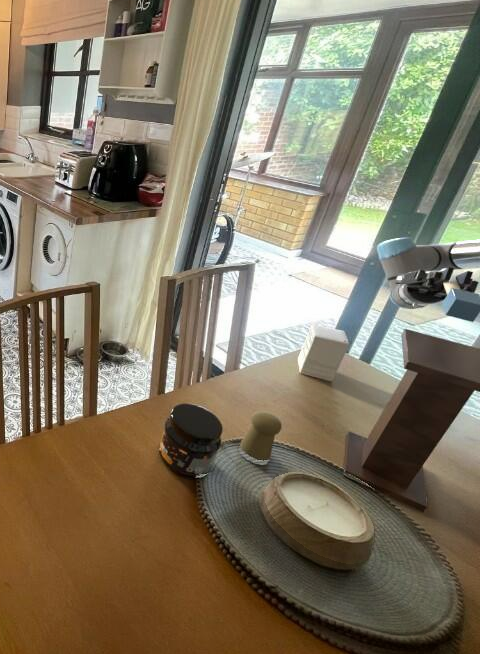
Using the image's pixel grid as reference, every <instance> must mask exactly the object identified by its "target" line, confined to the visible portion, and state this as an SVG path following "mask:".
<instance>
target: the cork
mask: <svg viewBox="0 0 480 654" xmlns="http://www.w3.org/2000/svg"><path fill="white" fill-rule="evenodd" d="M250 421H251V426H250V427H249V428H248V430H247V432H246V433H245V434H244V436H243V438H242V439H241V440H240V442H241V443H240V442H239V444H240V446H241V448H242V450H243V451H244V452H245V453H246V454H248V455H249V456H251V457H253V458H255V459H257V460H263V461H264V460H268V459H270V460H271V457H270V456H272V451H273V447H274V442H275V438H276V437H275V436H276V435H278V434H279V433H280V432H281V430H282V421H281V420H280V419H279V417H278V416H276V415H274V414H273V413H271V412H269V411H266V410H257V411H256V412H254V413H253V414H252V416H251V419H250Z"/></svg>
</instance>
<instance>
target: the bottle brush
mask: <svg viewBox="0 0 480 654" xmlns="http://www.w3.org/2000/svg"><path fill="white" fill-rule="evenodd" d="M443 270H445V269H443ZM443 270H441V271H443ZM443 284H444V287H445V290H446V293H447V296H446V298H445V299H444V300H443V301H442V303H441V305H442V308H443V311H444V314H445V316H448V317H450V318H451V317H452V318H456V319H460V320H463V321H467V322H471V323H474V321H475V320H476V318H477V317H478V315H479V314H480V294H479V293H476V292H475V293H471V292H467V291H463V290H460V287H459V285H458V283H457V280H456V276H455V273H454V272H453V273H452V275H451V278H450V280H449V281H447V282H444V283H443Z"/></svg>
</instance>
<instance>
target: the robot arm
mask: <svg viewBox="0 0 480 654" xmlns="http://www.w3.org/2000/svg"><path fill="white" fill-rule="evenodd" d="M376 251H377V255H378V260H379V261H380V264H381V266H382V269H383V272H384V274H385V277H386V279H387V283H388V285H389V288H390V291H389V299H390V301H391V302H392V303H393V304H394V305H395V306H397V307H399V308H401V309H406V310H415V309H422V308H425V307H427V306H430V305H433V304H437V303H441V302H443V301H444V300H445V298H446V296H447V293H446V290H445V287H444V284H443V283H444V282H447V281H449V280H450V278H451V275H452V273H454V271H455V270H467V269H468V270H467V271H463V272H462V273H459V274H457V275H456V276H455V278H456V280H457V283H458V285H459V287H460V290H463V291H467V292H471V293H476V291H477V288H478V286H479V283H480V281H478V280H474V279H473V278H472V277H473V274H474V271H471V270H472V269H480V239H473V240H464V241H463V240H462V241H456V242H455V241H454V242H445V243H434V244H433V243H432V244H418V245H416V243H415V242H414V240H413V239H412V238H411V237H399V238H393V239H389V240H385V241H383V242H380V243H378V245H377V246H376ZM443 269H445V270H443ZM470 269H471V270H470ZM441 270H443V271H441Z"/></svg>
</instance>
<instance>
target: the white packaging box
mask: <svg viewBox="0 0 480 654" xmlns="http://www.w3.org/2000/svg"><path fill="white" fill-rule="evenodd" d="M349 347H350V343H349V340H348V337H347V335H346V332H345V330H341V329H337V328H332V327H327V326H323V325H318V324H314V323H311V326H310V328H309V331H308V333H307V336H306V338H305V341H304V343H303V345H302V348H301V350H300V352H299V355H298V357H297V365H298V369H299V374H302V375H305V376H309V377H313V378H316V379H320V380H323V381H328V382H330V383H331V382H333V380H334V378H335V376H336V375H337V372H338V370H339V367H340V366H341V363H342V362H343V360H344V357H345V356H346V353H347V351H348V349H349Z"/></svg>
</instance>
